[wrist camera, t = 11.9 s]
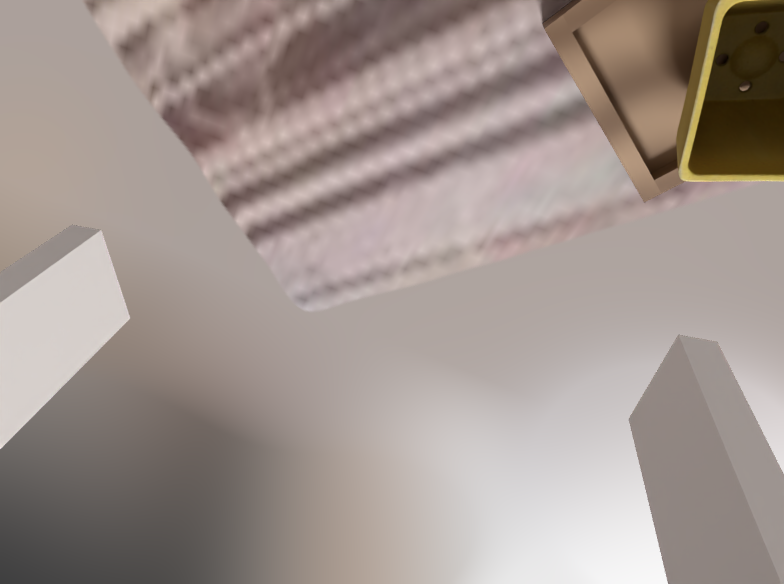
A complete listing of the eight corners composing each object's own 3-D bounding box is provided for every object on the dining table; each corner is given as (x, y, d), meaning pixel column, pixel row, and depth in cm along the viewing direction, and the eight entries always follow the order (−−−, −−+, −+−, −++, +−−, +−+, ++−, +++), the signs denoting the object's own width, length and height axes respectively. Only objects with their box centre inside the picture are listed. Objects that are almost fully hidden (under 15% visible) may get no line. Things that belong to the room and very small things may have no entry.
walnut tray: (542, 23, 32) (544, 28, 30) (793, -170, 25) (815, -178, 23) (637, 189, 36) (644, 202, 35) (869, 68, 30) (892, 76, 28)
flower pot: (880, -42, 25) (987, -31, 18) (816, 127, 30) (882, 185, 23) (688, -22, 28) (718, -7, 21) (658, 130, 33) (675, 182, 26)
